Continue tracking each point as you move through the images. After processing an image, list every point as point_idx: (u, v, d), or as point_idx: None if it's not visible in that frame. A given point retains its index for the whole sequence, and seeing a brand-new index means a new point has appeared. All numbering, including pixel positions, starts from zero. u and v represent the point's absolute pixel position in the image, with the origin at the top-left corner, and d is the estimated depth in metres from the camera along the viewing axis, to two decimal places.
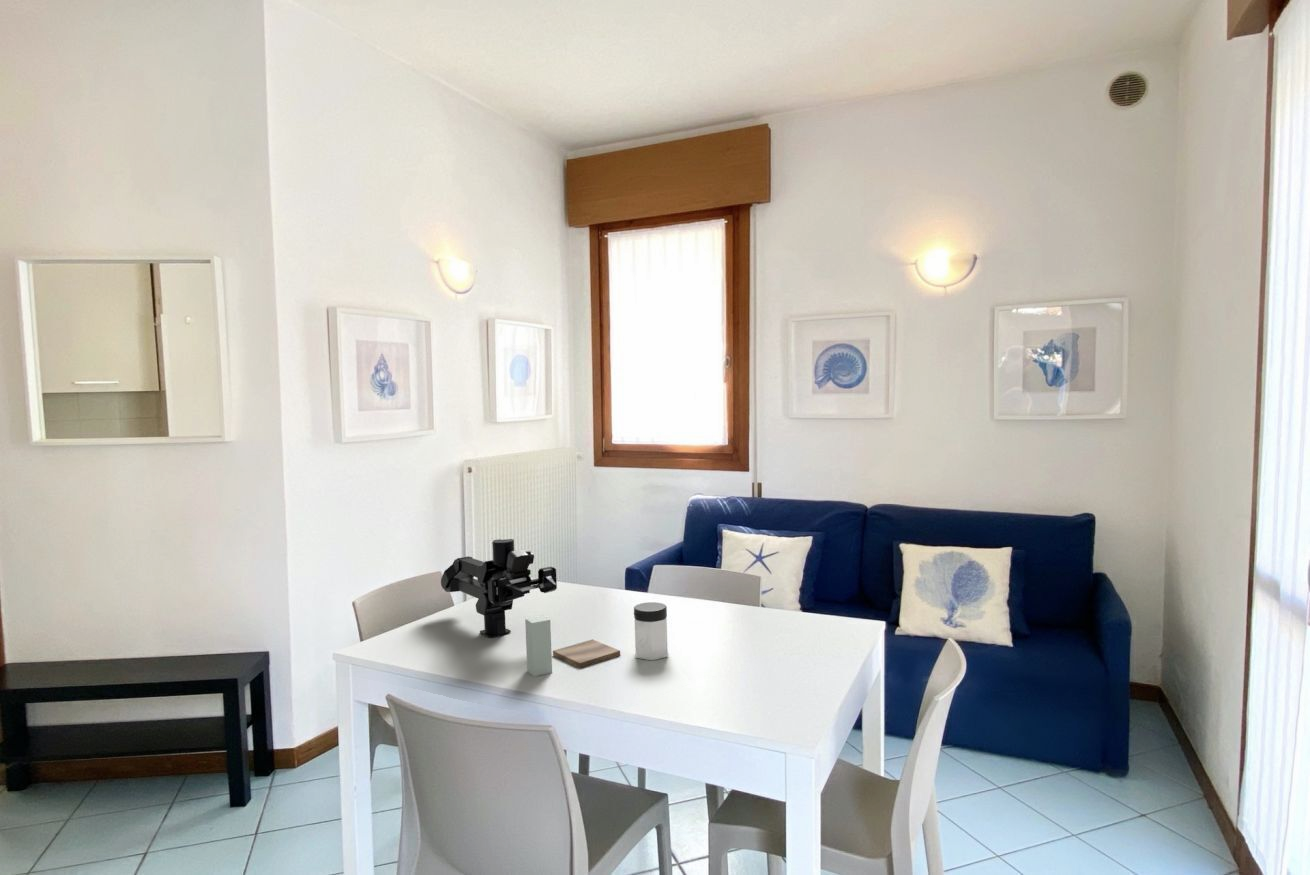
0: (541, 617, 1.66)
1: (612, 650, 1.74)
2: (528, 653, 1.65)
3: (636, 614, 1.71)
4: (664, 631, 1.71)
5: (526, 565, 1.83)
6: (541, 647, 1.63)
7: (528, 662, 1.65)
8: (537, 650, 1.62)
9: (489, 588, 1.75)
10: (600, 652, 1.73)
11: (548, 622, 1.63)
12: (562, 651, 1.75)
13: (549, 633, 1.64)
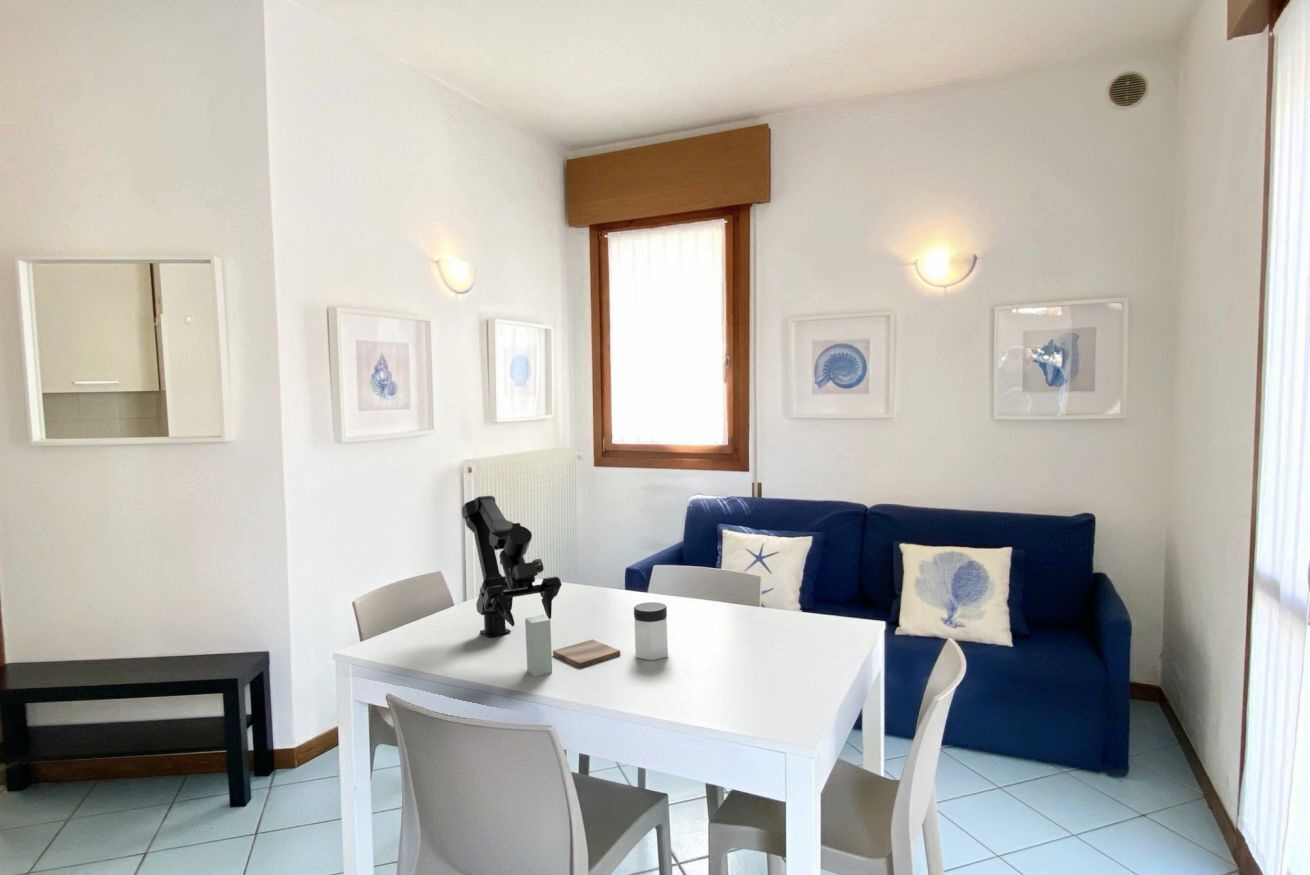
0: (541, 617, 1.65)
1: (612, 650, 1.74)
2: (528, 653, 1.65)
3: (636, 614, 1.71)
4: (664, 631, 1.71)
5: (532, 576, 1.72)
6: (541, 647, 1.63)
7: (528, 662, 1.65)
8: (537, 650, 1.62)
9: (485, 596, 1.68)
10: (600, 652, 1.73)
11: (548, 622, 1.63)
12: (562, 651, 1.75)
13: (549, 633, 1.63)
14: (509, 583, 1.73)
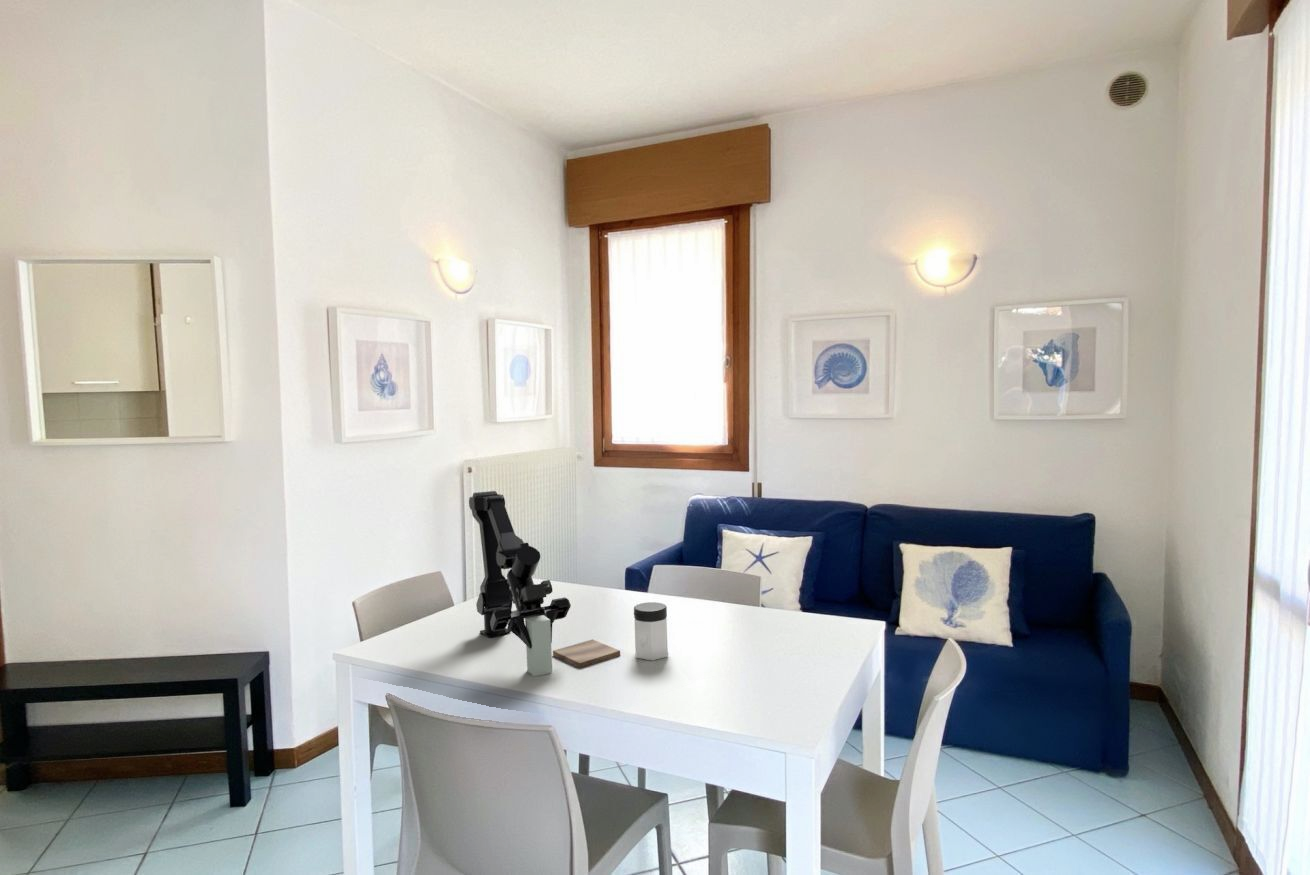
0: (541, 617, 1.65)
1: (612, 650, 1.74)
2: (528, 653, 1.65)
3: (636, 614, 1.71)
4: (664, 631, 1.71)
5: (540, 598, 1.67)
6: (541, 647, 1.63)
7: (528, 662, 1.65)
8: (537, 650, 1.62)
9: (493, 619, 1.63)
10: (600, 652, 1.73)
11: (548, 622, 1.63)
12: (562, 651, 1.75)
13: (549, 633, 1.63)
14: (517, 605, 1.68)
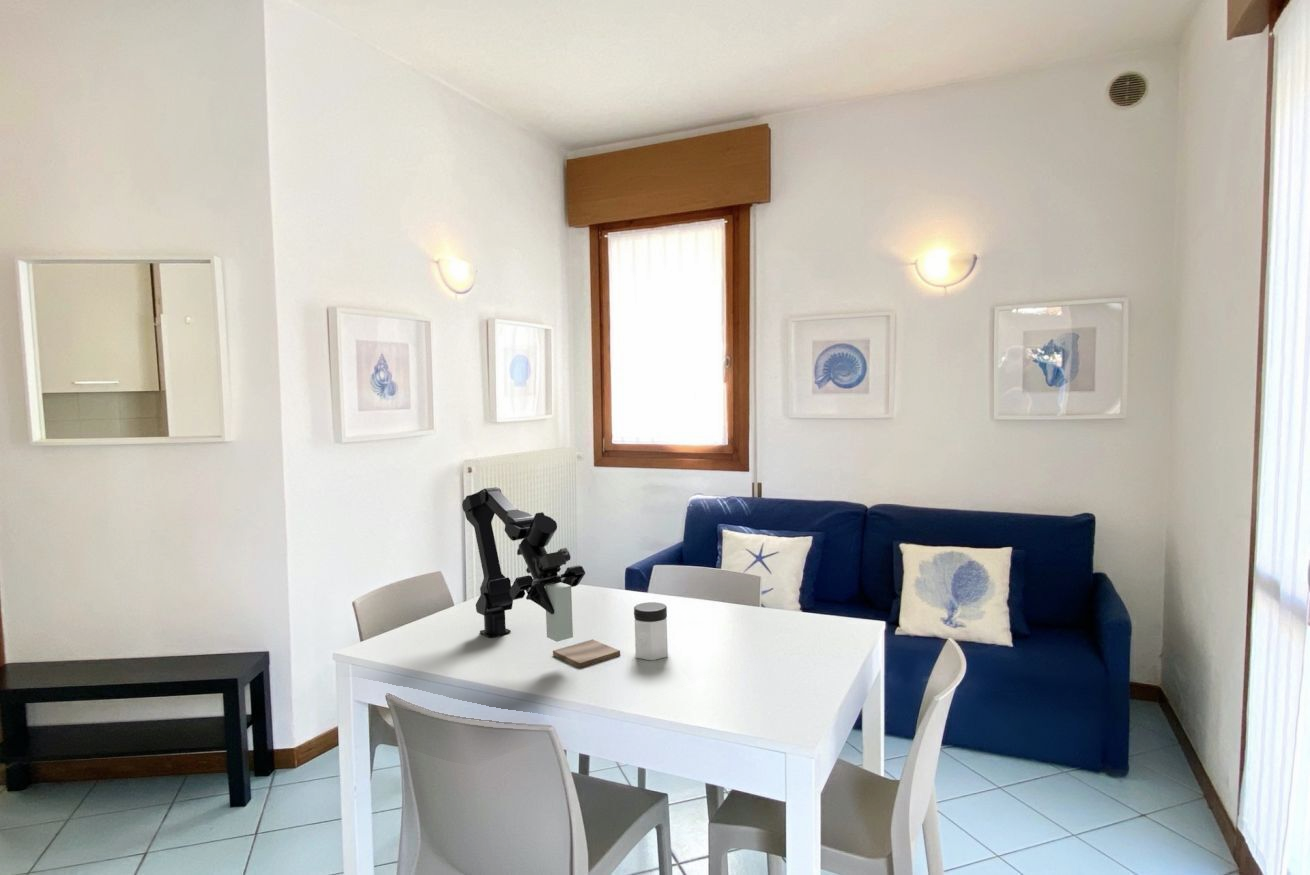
0: (560, 584, 1.69)
1: (612, 650, 1.74)
2: (548, 620, 1.67)
3: (636, 614, 1.71)
4: (664, 631, 1.71)
5: (558, 565, 1.70)
6: (563, 613, 1.66)
7: (548, 628, 1.68)
8: (559, 616, 1.65)
9: (514, 587, 1.65)
10: (600, 652, 1.73)
11: (569, 588, 1.67)
12: (562, 651, 1.75)
13: (570, 599, 1.67)
14: (535, 574, 1.70)
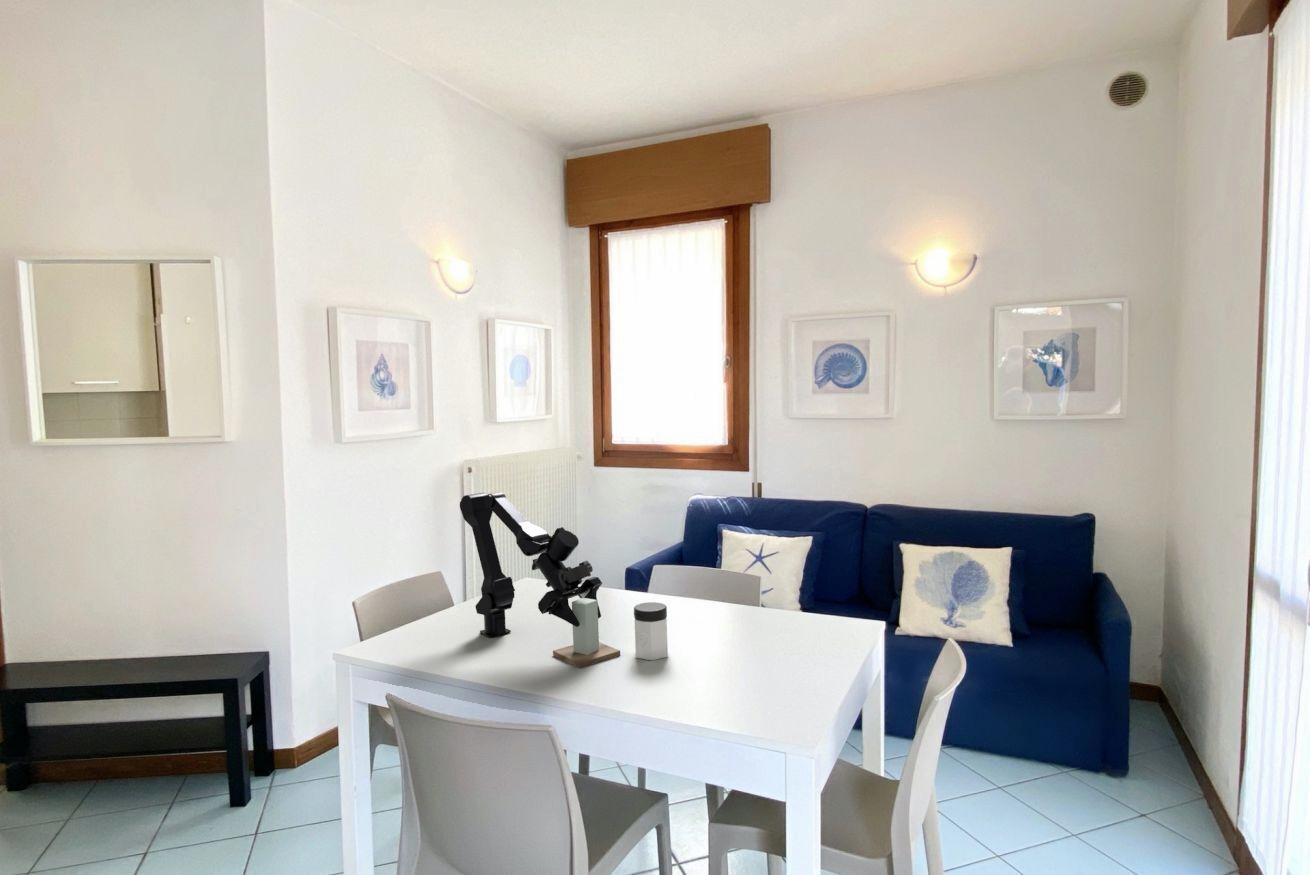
0: (585, 599, 1.75)
1: (612, 650, 1.74)
2: (575, 635, 1.73)
3: (636, 614, 1.71)
4: (664, 631, 1.71)
5: (581, 578, 1.77)
6: (591, 627, 1.73)
7: (575, 643, 1.74)
8: (589, 630, 1.72)
9: (545, 601, 1.69)
10: (600, 652, 1.73)
11: (596, 602, 1.74)
12: (562, 651, 1.75)
13: (597, 613, 1.74)
14: (559, 587, 1.75)
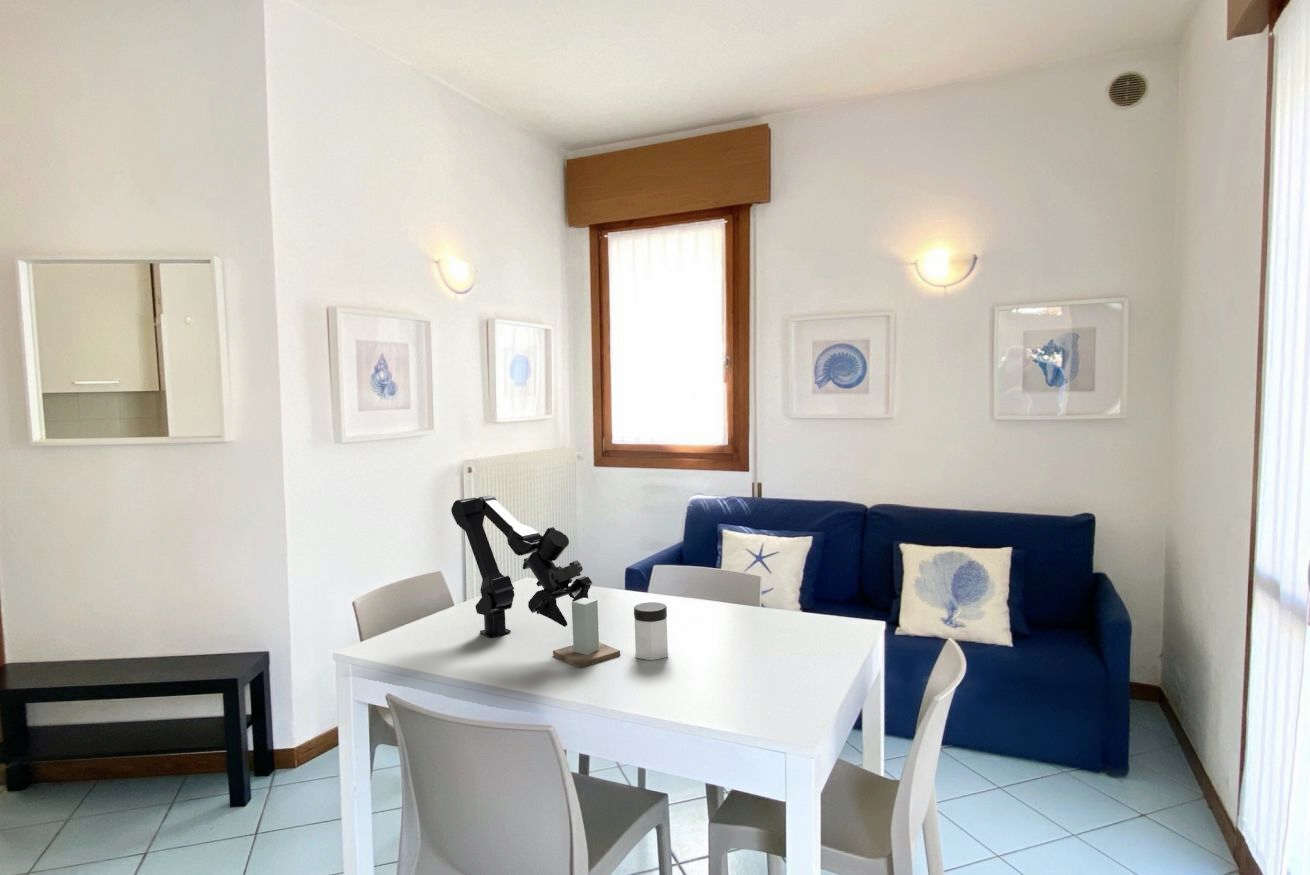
0: (585, 599, 1.75)
1: (612, 650, 1.74)
2: (575, 635, 1.73)
3: (636, 614, 1.71)
4: (664, 631, 1.71)
5: (571, 577, 1.79)
6: (591, 627, 1.73)
7: (575, 643, 1.74)
8: (589, 630, 1.72)
9: (535, 600, 1.71)
10: (600, 652, 1.73)
11: (596, 602, 1.74)
12: (562, 651, 1.75)
13: (597, 613, 1.74)
14: (549, 587, 1.77)
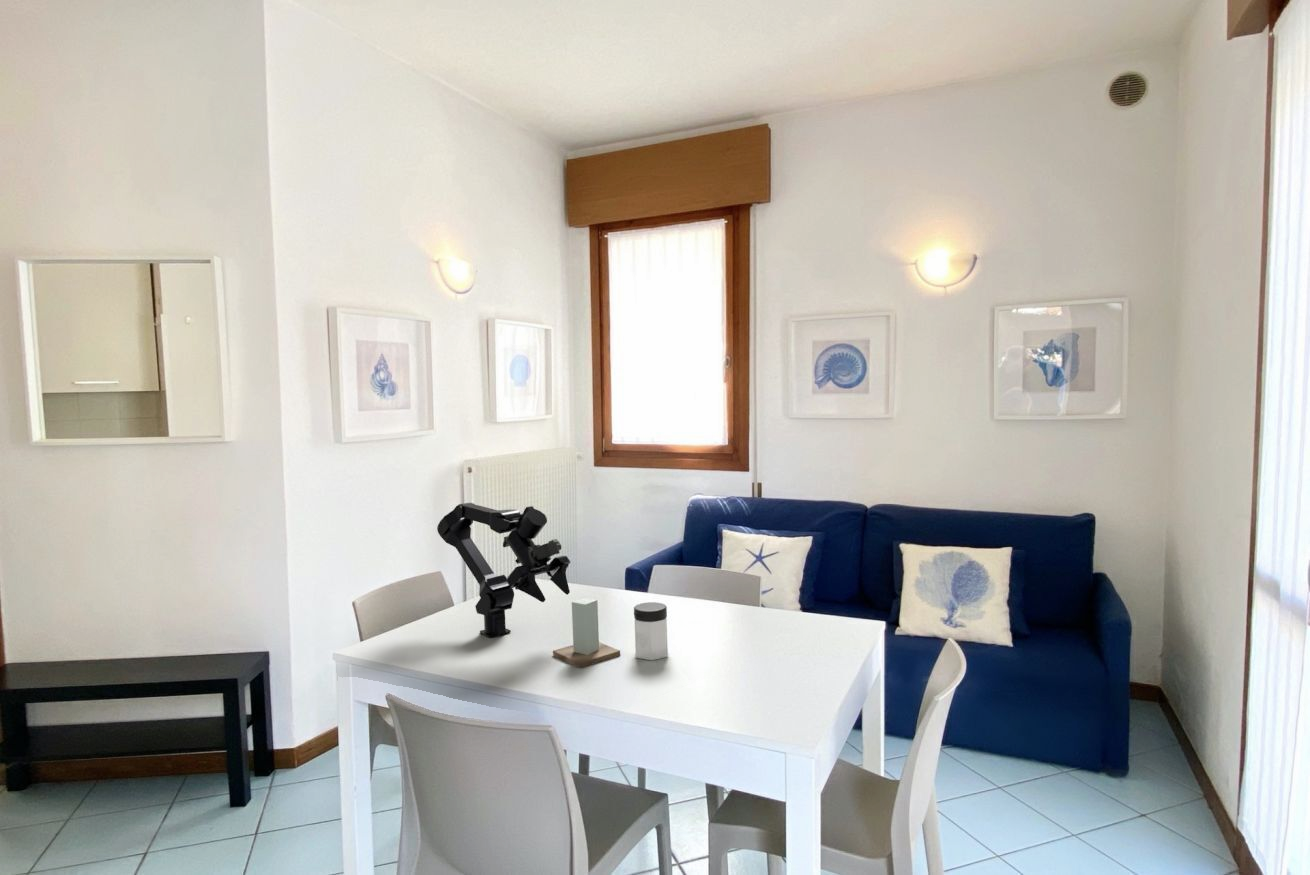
0: (585, 599, 1.75)
1: (612, 650, 1.74)
2: (575, 635, 1.73)
3: (636, 614, 1.71)
4: (664, 631, 1.71)
5: (550, 555, 1.82)
6: (591, 627, 1.73)
7: (575, 643, 1.74)
8: (589, 630, 1.72)
9: (514, 576, 1.74)
10: (600, 652, 1.73)
11: (596, 602, 1.74)
12: (562, 651, 1.75)
13: (597, 613, 1.74)
14: (528, 563, 1.81)
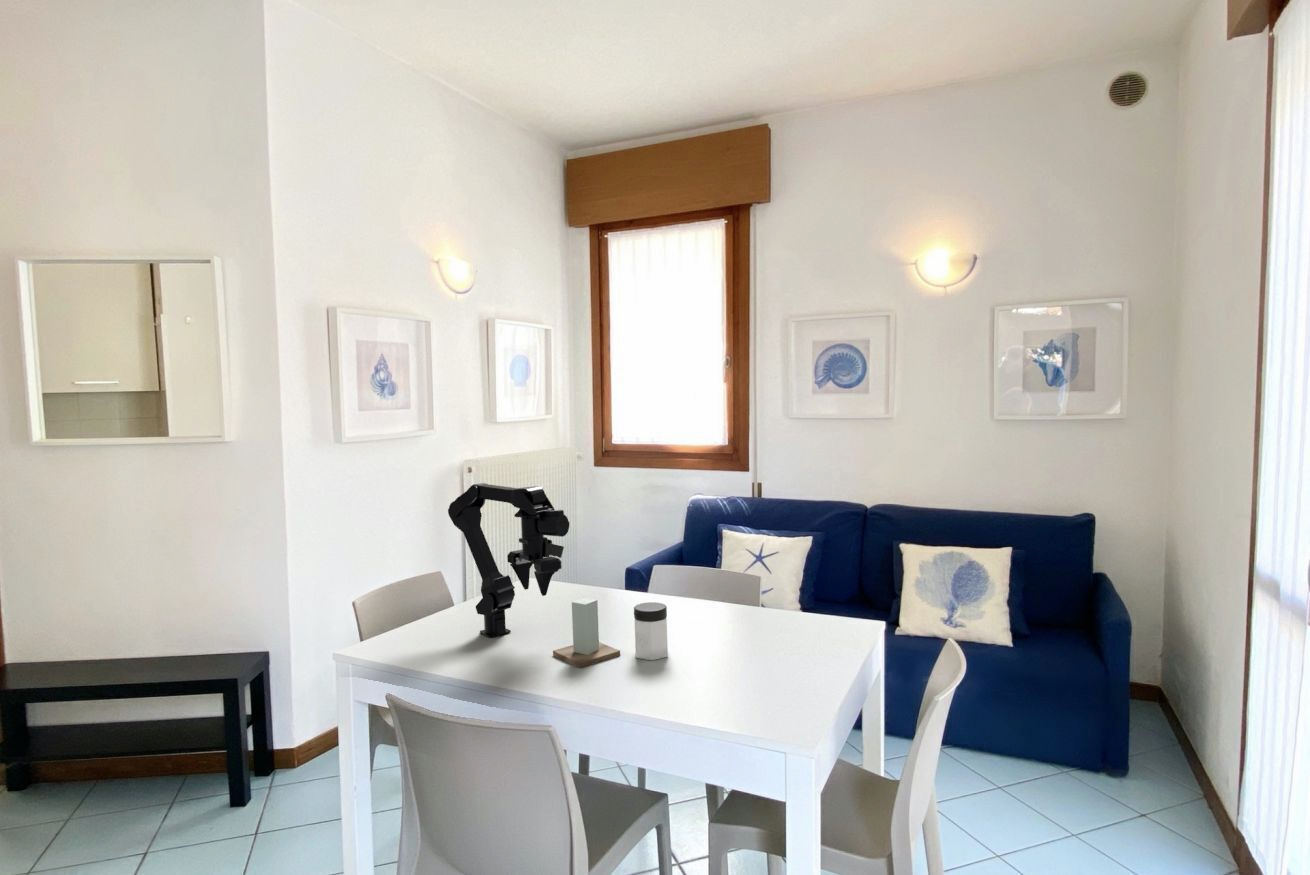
0: (585, 599, 1.75)
1: (612, 650, 1.74)
2: (575, 635, 1.73)
3: (636, 614, 1.71)
4: (664, 631, 1.71)
5: None
6: (591, 627, 1.73)
7: (575, 643, 1.74)
8: (589, 630, 1.72)
9: (554, 565, 1.80)
10: (600, 652, 1.73)
11: (596, 602, 1.74)
12: (562, 651, 1.75)
13: (597, 613, 1.74)
14: (541, 552, 1.85)
